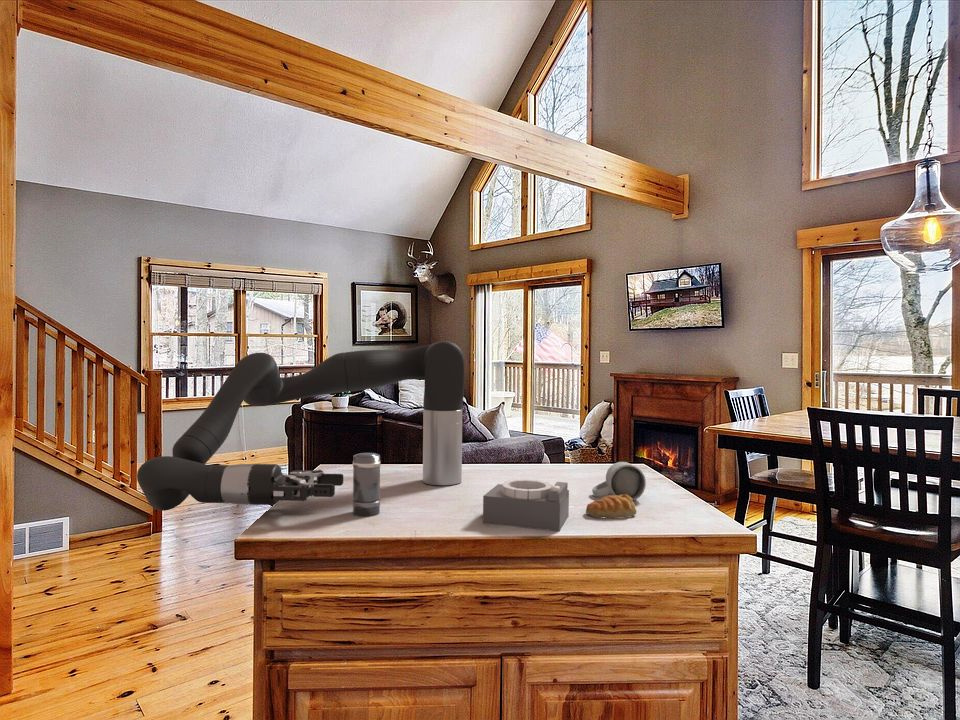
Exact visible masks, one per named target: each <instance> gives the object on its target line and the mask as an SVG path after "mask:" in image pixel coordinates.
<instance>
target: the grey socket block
mask: <svg viewBox="0 0 960 720" xmlns="http://www.w3.org/2000/svg"><path fill="white" fill-rule="evenodd" d="M568 484H569V483H568V482H567V481H566V482H564V481H556V483H554V484H552V483H550V482H548V481H544V480H538V479H528V478H527V479H523V478H522V479H511V480H506V481H504V482H503V483H500V484H499V483H497V484H496V485H495V486H493V487H492V488H491V489H490V490H489V491H487V493H485V494H483V496H482V498H483V500H482V505H483V506H482V524H486V525H496V526H497V525H498V526H505V527H514V528H515V527H516V528H525V529H533V530H535V529H536V530H545V531H554V532H560V531H561V530H562V528H563V527H564V525H565V523H566V521H567V520H568V517H569V509H570V489H568Z"/></svg>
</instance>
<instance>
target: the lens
mask: <svg viewBox="0 0 960 720" xmlns="http://www.w3.org/2000/svg"><path fill="white" fill-rule="evenodd" d="M352 457H353V459H352V460H353V461H352V467H353V469H352V474H353V475H352V477H353V478H352V479H353V480H352V483H353V484H352V514H353V515H354V516H356V517H373V516H377V515H379V514H380V512H381V511H380V510H381V508H380V507H381V497H380V496H381V494H380V493H381V492H380V491H381V487H380V486H381V455H380V454H379V453H376V452H361V453H356V454H354V455H352Z"/></svg>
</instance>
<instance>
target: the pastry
mask: <svg viewBox="0 0 960 720" xmlns="http://www.w3.org/2000/svg"><path fill="white" fill-rule="evenodd" d="M585 514H588V515H590V516H592V517H594V518H597V519H602V518H601V517H605V518H604V519H617V518H616V517H625V518H630V517H629V516H633V517H635V515H636V514H637V508H636V504H635V503H634V501H633V500H632V498H631V497H630V496H629V495H627V494H625V495H621V494H620V495H619V496H615V495H613V494H611V495H610V494H609V495H605V496H602V497H600V498H599V499H596V500H593V501H592V502H589V503H588V504H587V505H586V509H585Z"/></svg>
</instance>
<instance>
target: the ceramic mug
mask: <svg viewBox="0 0 960 720" xmlns="http://www.w3.org/2000/svg"><path fill="white" fill-rule="evenodd" d="M646 486H647V481H646V476H645V474H644V472H643V471H642V469H640V468H639V467H637V466H636V465H634V464H632V463H629V462H626V461H618V462H615V463H613V464H612V465H611V466H609V468H608V469H607V472H606V474H605V481H603V482H601V483H598V484H597V485H595V486H593V487H592V489H591V491H592V494H593V496H594V497H595V498H602V497H605V496H608V495H610V494H611V495H615V496H619V495H620V494H621V495H625V494H627V495H629V496H630V497H631V498H632V500H634V501H636V500H638V499H639V498H640V497H641V496H642V495H643V494H644V492H645V490H646Z"/></svg>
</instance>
